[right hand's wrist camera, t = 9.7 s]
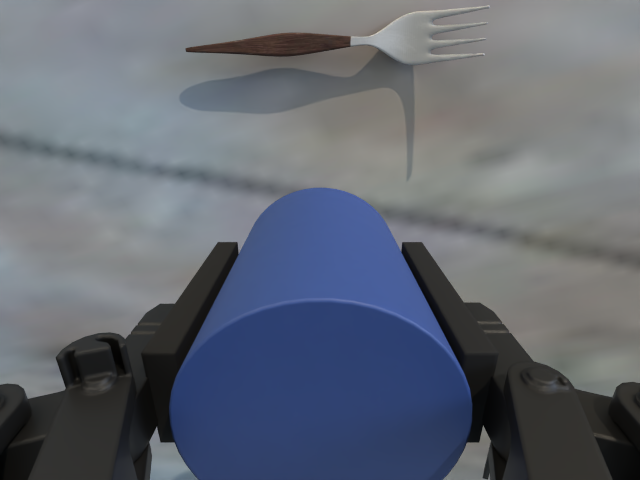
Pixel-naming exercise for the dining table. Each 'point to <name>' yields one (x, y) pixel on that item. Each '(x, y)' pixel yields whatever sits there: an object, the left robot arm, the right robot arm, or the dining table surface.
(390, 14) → the dining table surface
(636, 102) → the dining table surface
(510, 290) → the dining table surface
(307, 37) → the fork
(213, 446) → the canister
